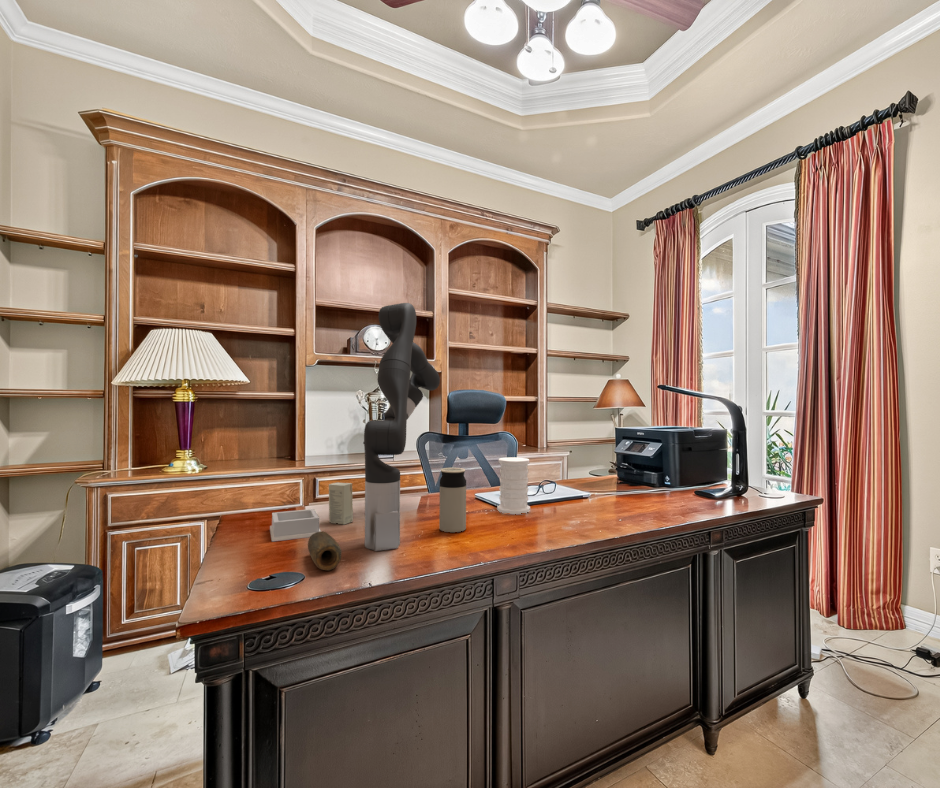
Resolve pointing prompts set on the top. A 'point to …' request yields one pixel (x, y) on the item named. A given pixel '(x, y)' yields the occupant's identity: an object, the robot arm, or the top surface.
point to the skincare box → (340, 503)
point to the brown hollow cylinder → (324, 550)
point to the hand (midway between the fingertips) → (372, 446)
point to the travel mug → (452, 500)
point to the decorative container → (513, 485)
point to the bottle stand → (294, 524)
